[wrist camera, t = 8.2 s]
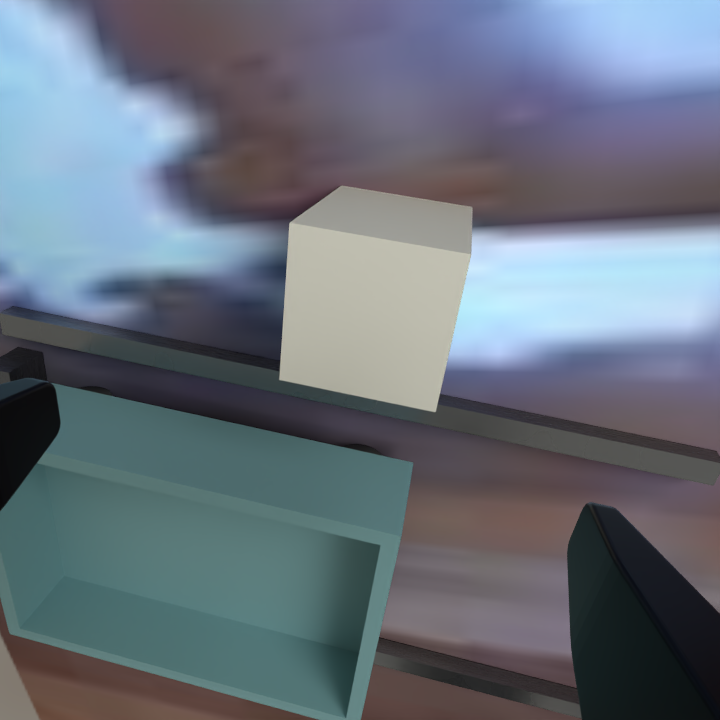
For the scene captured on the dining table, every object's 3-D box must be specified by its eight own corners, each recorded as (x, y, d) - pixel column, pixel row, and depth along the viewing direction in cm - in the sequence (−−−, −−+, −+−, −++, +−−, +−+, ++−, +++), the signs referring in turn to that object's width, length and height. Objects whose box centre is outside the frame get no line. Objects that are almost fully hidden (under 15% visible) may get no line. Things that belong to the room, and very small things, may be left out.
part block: (445, 328, 20) (435, 412, 15) (329, 306, 21) (279, 379, 16) (472, 206, 18) (471, 254, 13) (341, 185, 19) (289, 222, 14)
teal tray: (377, 623, 28) (358, 730, 23) (82, 548, 29) (9, 633, 25) (416, 444, 22) (401, 536, 18) (56, 366, 24) (-43, 431, 20)
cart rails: (581, 703, 28) (589, 744, 26) (58, 567, 31) (32, 596, 29) (716, 451, 20) (739, 485, 19) (10, 305, 24) (-28, 323, 22)
